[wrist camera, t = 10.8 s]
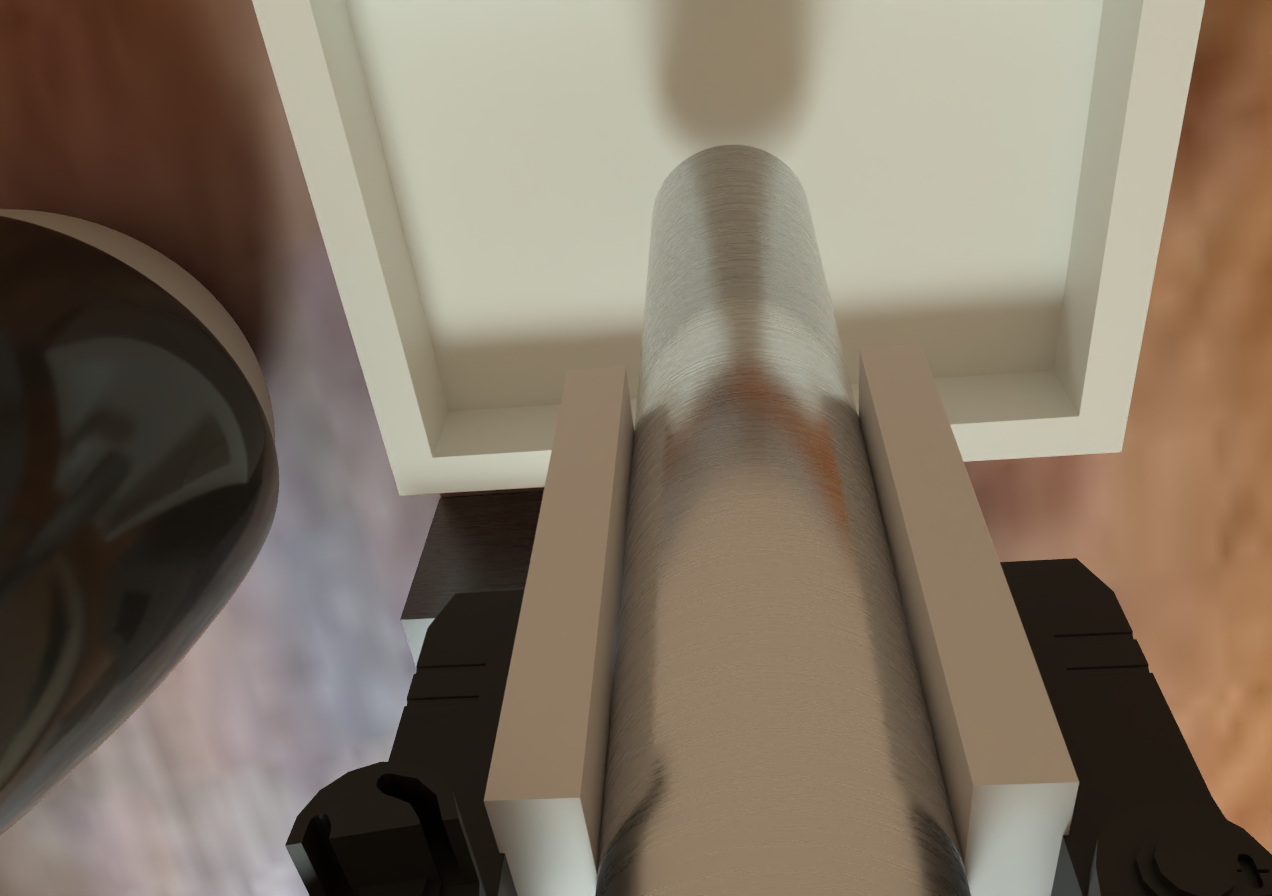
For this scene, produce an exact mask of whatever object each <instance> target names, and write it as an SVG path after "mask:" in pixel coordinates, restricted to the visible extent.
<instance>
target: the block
mask: <svg viewBox="0 0 1272 896" xmlns="http://www.w3.org/2000/svg"><path fill="white" fill-rule="evenodd" d="M542 498H543V492H533V493H516V494H500V495H483V496H466V497H450V498H440V500H439V503H438V506H437V509H436V512H435V515H434V518H433V521H432V524H431V527H430V530H429V533H428V536H427V539H426V542H425V546H424V549H423V552H422V555H421V558H420V561H419V564H418V567H417V570H416V573H415V576H414V579H413V582H412V585H411V588H410V591H409V595H408V598H407V601H406V604H405V607H404V610H403V613H402V616H401V619H400V621H401V624H402V627H403V630H404V633H405V636H406V639H407V642H408V645H409V648H410V651H411V655H412V658H413V661H414V664H415V667H416V666H417V662H418V659H419V655H420V652H421V648H422V645H423V642H424V638H425V635H426V631H427V628H428V627H429V625H430V624H431V623H432V622H433V621H434V619H435V618H436V617H437V616H438V614H439V613H440V612H441V611H442V610H443V608H444V607H445V606H446V605H447V603H448V602H449V601H450V600H451V599H452V597H453V596H454V595H455V594H456V593H472V592H492V591H511V590H525V585H526V580H527V575H528V570H529V565H530V559H531V554H532V549H533V544H534V539H535V534H536V529H537V523H538V518H539V513H540V508H541V503H542ZM416 670H417V668H416Z"/></svg>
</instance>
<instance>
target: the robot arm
mask: <svg viewBox="0 0 1272 896" xmlns="http://www.w3.org/2000/svg"><path fill="white" fill-rule="evenodd" d="M859 421H860V426H861V430H862V434H863V438H864V443H865V447H866V451H867V455H868V460H869V464H870V468H871V472H872V477H873V481H874V485H875V489H876V494H877V498H878V502H879V506H880V511H881V515H882V519H883V523H884V528H885V532H886V536H887V540H888V545H889V549H890V553H891V557H892V562H893V566H894V570H895V574H896V579H897V583H898V587H899V591H900V596H901V600H902V604H903V608H904V613H905V617H906V621H907V625H908V630H909V634H910V638H911V642H912V647H913V651H914V655H915V659H916V664H917V668H918V672H919V677H920V681H921V685H922V689H923V694H924V698H925V702H926V706H927V711H928V715H929V719H930V723H931V728H932V732H933V736H934V740H935V745H936V749H937V753H938V757H939V762H940V766H941V770H942V774H943V779H944V783H945V787H946V791H947V796H948V800H949V804H950V808H951V813H952V817H953V821H954V825H955V830H956V834H957V838H958V842H959V847H960V851H961V855H962V859H963V864H964V868H965V872H966V876H967V881H968V885H969V889H970V893H971V896H1272V855H1271V854H1270V853H1269V852H1268V851H1267V850H1266V849H1265V848H1264V847H1263V846H1262V845H1261V844H1259V843H1258V842H1257V841H1256V840H1255V839H1254V838H1253V837H1252V836H1251V835H1250V834H1249V833H1248V832H1246V831H1245V830H1244V829H1243V828H1241V827H1239V826H1238V825H1236V824H1234V823H1232V822H1230V821H1228V820H1227V819H1226V818H1225V817H1224V815H1223V814H1222V812H1221V810H1220V809H1219V807H1218V806H1217V804H1216V803H1215V801H1214V799H1213V798H1212V796H1211V794H1210V792H1209V790H1208V788H1207V786H1206V784H1205V782H1204V779H1203V777H1202V775H1201V773H1200V771H1199V769H1198V767H1197V765H1196V763H1195V761H1194V759H1193V757H1192V754H1191V752H1190V750H1189V748H1188V746H1187V744H1186V742H1185V740H1184V738H1183V736H1182V734H1181V731H1180V729H1179V727H1178V725H1177V723H1176V721H1175V719H1174V717H1173V715H1172V713H1171V711H1170V708H1169V706H1168V704H1167V702H1166V700H1165V698H1164V696H1163V694H1162V692H1161V690H1160V688H1159V686H1158V683H1157V681H1156V679H1155V677H1154V675H1153V673H1149V669H1148V663H1147V660H1146V658H1145V656H1144V654H1143V652H1142V650H1141V648H1140V646H1139V644H1138V642H1137V640H1136V639H1133V634H1132V633H1133V631H1132V629H1131V627H1130V625H1129V623H1128V621H1127V619H1126V617H1125V615H1124V612H1123V610H1122V608H1121V606H1120V604H1119V602H1118V600H1117V598H1116V596H1115V594H1114V592H1113V591H1112V590H1111V589H1110V588H1109V587H1108V586H1107V585H1105V584H1104V583H1103V582H1102V581H1101V580H1100V579H1099V578H1098V577H1097V576H1095V575H1094V574H1093V573H1092V572H1091V571H1090V570H1089V569H1088V568H1086V567H1085V566H1084V565H1083V564H1082V563H1081V562H1080V561H1079V560H1077V559H1076V558H1075V559H1055V560H1036V561H1016V562H1000V561H999V559H998V556H997V553H996V550H995V548H994V545H993V542H992V539H991V536H990V534H989V531H988V528H987V525H986V523H985V520H984V517H983V514H982V512H981V509H980V506H979V503H978V500H977V498H976V495H975V492H974V489H973V487H972V484H971V481H970V478H969V476H968V473H967V470H966V467H965V464H964V462H963V459H962V456H961V453H960V451H959V448H958V445H957V442H956V440H955V437H954V434H953V431H952V428H951V426H950V423H949V420H948V417H947V415H946V412H945V409H944V406H943V404H942V401H941V398H940V395H939V392H938V390H937V387H936V384H935V381H934V379H933V376H932V373H931V370H930V368H929V365H928V362H927V359H926V356H925V354H924V351H923V348H922V345H921V344H917V345H903V346H889V347H875V348H861V349H859ZM633 442H634V425H633V417H632V410H631V402H630V395H629V387H628V380H627V372H626V366H613V367H599V368H585V369H571V370H567V374H566V379H565V384H564V389H563V395H562V400H561V405H560V410H559V415H558V420H557V425H556V431H555V436H554V441H553V446H552V451H551V456H550V462H549V467H548V472H547V477H546V482H545V487H544V492H543V498H542V503H541V508H540V513H539V518H538V523H537V529H536V534H535V539H534V544H533V549H532V554H531V559H530V565H529V570H528V575H527V580H526V585H525V590H511V591H492V592H472V593H456V594H455V595H454V596H453V597H452V599H451V600H450V601H449V602H448V603H447V605H446V606H445V607H444V608H443V610H442V611H441V612H440V613H439V614H438V616H437V617H436V618H435V619H434V621H433V622H432V623H431V624H430V625H429V627H428V628H427V631H426V635H425V638H424V642H423V645H422V648H421V652H420V655H419V659H418V662H417V666H416V668H417V672H416V674H414V676H413V679H412V683H411V686H410V689H409V693H408V696H407V706H405V707H404V710H403V713H402V717H401V720H400V724H399V727H398V730H397V734H396V737H395V741H394V744H393V748H392V751H391V754H390V758H389V761H388V762H379V763H376V764H372V765H369V766H366V767H363V768H360V769H356V770H353V771H350V772H348V773H346V774H345V775H343V776H342V777H340V778H338V779H337V780H335V781H334V782H332V783H331V784H329V785H328V786H326V787H325V788H323V789H321V790H320V791H319V792H318V793H317V794H316V795H315V797H314V798H313V799H312V800H311V801H310V802H309V803H308V805H307V806H306V807H305V808H304V809H303V810H302V811H301V813H300V814H299V815H298V816H297V818H296V821H295V823H294V825H293V828H292V830H291V833H290V835H289V838H288V840H287V842H286V845H285V846H286V848H287V850H288V852H289V854H290V856H291V858H292V860H293V862H294V864H295V866H296V868H297V870H298V872H299V875H300V877H301V879H302V881H303V883H304V885H305V887H306V889H307V891H308V893H309V895H310V896H595V893H596V882H597V873H598V861H599V849H600V837H601V825H602V813H603V801H604V789H605V777H606V765H607V753H608V741H609V729H610V717H611V705H612V693H613V681H614V669H615V657H616V645H617V633H618V621H619V610H620V598H621V586H622V574H623V562H624V550H625V538H626V526H627V514H628V502H629V490H630V478H631V466H632V454H633Z"/></svg>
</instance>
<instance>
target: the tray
mask: <svg viewBox="0 0 1272 896" xmlns="http://www.w3.org/2000/svg"><path fill="white" fill-rule="evenodd" d="M252 2H253V6H254V9H255V12H256V16H257V19H258V22H259V26H260V29H261V32H262V36H263V39H264V42H265V46H266V49H267V53H268V56H269V59H270V63H271V66H272V69H273V73H274V76H275V79H276V83H277V86H278V89H279V93H280V96H281V99H282V103H283V106H284V109H285V113H286V116H287V120H288V123H289V126H290V130H291V133H292V136H293V140H294V143H295V146H296V150H297V153H298V156H299V160H300V163H301V166H302V170H303V173H304V177H305V180H306V183H307V187H308V190H309V193H310V197H311V200H312V203H313V207H314V210H315V213H316V217H317V220H318V223H319V227H320V230H321V234H322V237H323V240H324V244H325V247H326V250H327V254H328V257H329V260H330V264H331V267H332V270H333V274H334V277H335V280H336V284H337V287H338V290H339V294H340V297H341V301H342V304H343V307H344V311H345V314H346V317H347V321H348V324H349V327H350V331H351V334H352V337H353V341H354V344H355V347H356V351H357V354H358V358H359V361H360V364H361V368H362V371H363V374H364V378H365V381H366V384H367V388H368V391H369V394H370V398H371V401H372V404H373V408H374V411H375V414H376V418H377V421H378V425H379V428H380V431H381V435H382V438H383V441H384V445H385V448H386V451H387V455H388V458H389V461H390V465H391V468H392V471H393V475H394V478H395V482H396V485H397V488H398V492H399V495H400V496H403V495H420V494H436V493H453V492H469V491H486V490H502V489H519V488H535V487H545V482H546V477H547V472H548V467H549V462H550V456H551V451H552V446H553V441H554V436H555V431H556V425H557V420H558V415H559V410H560V405H561V400H562V395H563V389H564V384H565V379H566V374H567V370H571V369H585V368H599V367H613V366H626V372H627V380H628V387H629V395H630V402H631V410H632V417H633V425H634V428H635V416H636V404H637V392H638V380H639V369H640V357H641V345H642V333H643V321H644V309H645V297H646V285H647V273H648V261H649V249H650V237H651V225H652V214H653V207H654V203H655V199H656V197H657V194H658V192H659V189H660V188H661V186H662V184H663V182H664V181H665V179H666V178H667V177H668V175H669V174H670V173H671V172H672V171H673V170H674V169H675V168H676V167H677V166H678V165H679V164H680V163H682V162H683V161H684V160H685V159H687V158H689V157H690V156H692V155H694V154H696V153H698V152H700V151H702V150H705V149H708V148H712V147H715V146H722V145H745V146H751V147H755V148H758V149H761V150H764V151H766V152H768V153H770V154H772V155H774V156H776V157H777V158H779V159H780V160H781V161H783V162H784V163H785V164H786V165H787V166H788V167H789V168H790V169H791V170H792V171H793V172H794V173H795V175H796V176H797V177H798V179H799V181H800V182H801V184H802V186H803V188H804V191H805V193H806V196H807V200H808V204H809V209H810V213H811V217H812V221H813V226H814V230H815V234H816V239H817V243H818V247H819V251H820V256H821V260H822V264H823V268H824V273H825V277H826V281H827V285H828V290H829V294H830V298H831V302H832V307H833V311H834V315H835V319H836V324H837V328H838V332H839V336H840V341H841V345H842V349H843V353H844V358H845V362H846V366H847V370H848V375H849V379H850V383H851V387H852V392H853V396H854V400H855V404H856V409H857V413H858V417H859V349H861V348H875V347H889V346H903V345H917V344H921V345H922V348H923V351H924V354H925V356H926V359H927V362H928V365H929V368H930V370H931V373H932V376H933V379H934V381H935V384H936V387H937V390H938V392H939V395H940V398H941V401H942V404H943V406H944V409H945V412H946V415H947V417H948V420H949V423H950V426H951V428H952V431H953V434H954V437H955V440H956V442H957V445H958V448H959V451H960V453H961V456H962V459H963V462H965V461H982V460H998V459H1015V458H1031V457H1048V456H1064V455H1081V454H1097V453H1114V452H1121V451H1122V445H1123V440H1124V434H1125V429H1126V424H1127V418H1128V413H1129V408H1130V402H1131V397H1132V391H1133V386H1134V381H1135V375H1136V370H1137V365H1138V359H1139V354H1140V348H1141V343H1142V338H1143V332H1144V327H1145V322H1146V316H1147V311H1148V305H1149V300H1150V295H1151V289H1152V284H1153V279H1154V273H1155V268H1156V262H1157V257H1158V252H1159V246H1160V241H1161V236H1162V230H1163V225H1164V219H1165V214H1166V209H1167V203H1168V198H1169V193H1170V187H1171V182H1172V176H1173V171H1174V166H1175V160H1176V155H1177V150H1178V144H1179V139H1180V133H1181V128H1182V123H1183V117H1184V112H1185V107H1186V101H1187V96H1188V90H1189V85H1190V80H1191V74H1192V69H1193V64H1194V58H1195V53H1196V47H1197V42H1198V37H1199V31H1200V26H1201V20H1202V15H1203V10H1204V4H1205V0H252Z"/></svg>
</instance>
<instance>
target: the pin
mask: <svg viewBox="0 0 1272 896" xmlns="http://www.w3.org/2000/svg"><path fill="white" fill-rule="evenodd" d="M595 896H971V893H970V889H969V885H968V881H967V876H966V872H965V868H964V864H963V859H962V855H961V851H960V847H959V842H958V838H957V834H956V830H955V825H954V821H953V817H952V813H951V808H950V804H949V800H948V796H947V791H946V787H945V783H944V779H943V774H942V770H941V766H940V762H939V757H938V753H937V749H936V745H935V740H934V736H933V732H932V728H931V723H930V719H929V715H928V711H927V706H926V702H925V698H924V694H923V689H922V685H921V681H920V677H919V672H918V668H917V664H916V659H915V655H914V651H913V647H912V642H911V638H910V634H909V630H908V625H907V621H906V617H905V613H904V608H903V604H902V600H901V596H900V591H899V587H898V583H897V579H896V574H895V570H894V566H893V562H892V557H891V553H890V549H889V545H888V540H887V536H886V532H885V528H884V523H883V519H882V515H881V511H880V506H879V502H878V498H877V494H876V489H875V485H874V481H873V477H872V472H871V468H870V464H869V460H868V455H867V451H866V447H865V443H864V438H863V434H862V430H861V426H860V421H859V417H858V413H857V409H856V404H855V400H854V396H853V392H852V387H851V383H850V379H849V375H848V370H847V366H846V362H845V358H844V353H843V349H842V345H841V341H840V336H839V332H838V328H837V324H836V319H835V315H834V311H833V307H832V302H831V298H830V294H829V290H828V285H827V281H826V277H825V273H824V268H823V264H822V260H821V256H820V251H819V247H818V243H817V239H816V234H815V230H814V226H813V221H812V217H811V213H810V209H809V204H808V200H807V196H806V193H805V191H804V188H803V186H802V184H801V182H800V181H799V179H798V177H797V176H796V175H795V173H794V172H793V171H792V170H791V169H790V168H789V167H788V166H787V165H786V164H785V163H784V162H783V161H781V160H780V159H779V158H777V157H776V156H774V155H772V154H770V153H768V152H766V151H764V150H761V149H758V148H755V147H751V146H745V145H722V146H715V147H712V148H708V149H705V150H702V151H700V152H698V153H696V154H694V155H692V156H690V157H689V158H687V159H685V160H684V161H683V162H682V163H680V164H679V165H678V166H677V167H676V168H675V169H674V170H673V171H672V172H671V173H670V174H669V175H668V177H667V178H666V179H665V181H664V182H663V184H662V186H661V188H660V189H659V192H658V194H657V197H656V199H655V203H654V207H653V214H652V225H651V237H650V249H649V261H648V273H647V285H646V297H645V309H644V321H643V333H642V345H641V357H640V369H639V380H638V392H637V404H636V416H635V428H634V442H633V454H632V466H631V478H630V490H629V502H628V514H627V526H626V538H625V550H624V562H623V574H622V586H621V598H620V610H619V621H618V633H617V645H616V657H615V669H614V681H613V693H612V705H611V717H610V729H609V741H608V753H607V765H606V777H605V789H604V801H603V813H602V825H601V837H600V849H599V861H598V873H597V882H596V893H595Z"/></svg>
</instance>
